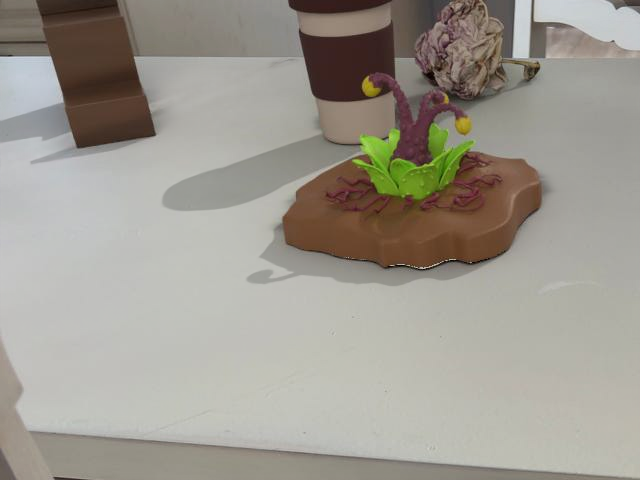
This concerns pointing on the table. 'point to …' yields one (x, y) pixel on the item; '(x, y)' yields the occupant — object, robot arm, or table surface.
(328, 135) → the coffee cup
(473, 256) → the plant
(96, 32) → the rack
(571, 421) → the table surface
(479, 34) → the decorative flower
